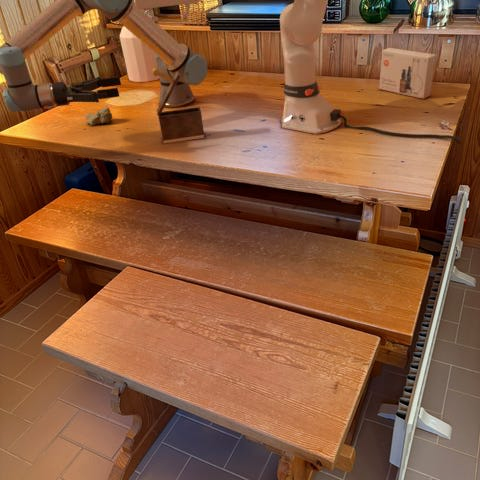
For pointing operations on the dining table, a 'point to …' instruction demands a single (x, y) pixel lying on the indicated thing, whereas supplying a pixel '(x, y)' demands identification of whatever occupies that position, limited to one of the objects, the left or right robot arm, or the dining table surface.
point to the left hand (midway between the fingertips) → (119, 86)
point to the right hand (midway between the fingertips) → (171, 21)
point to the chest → (181, 125)
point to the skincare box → (407, 72)
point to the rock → (99, 117)
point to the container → (137, 58)
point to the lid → (170, 89)
